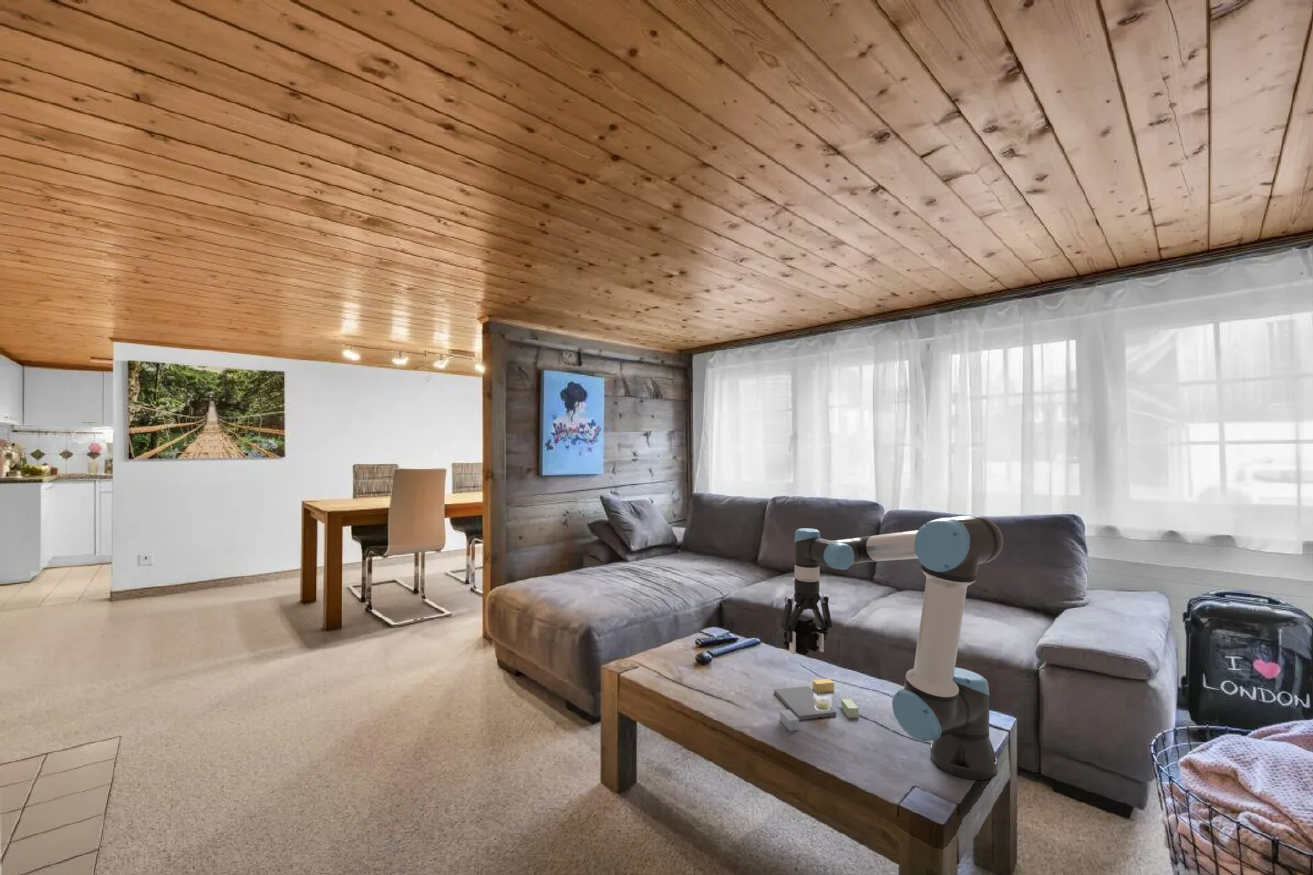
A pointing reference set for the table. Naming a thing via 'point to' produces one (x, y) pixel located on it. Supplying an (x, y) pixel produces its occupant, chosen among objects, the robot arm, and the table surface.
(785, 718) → the dusty blue brick
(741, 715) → the table surface
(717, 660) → the table surface
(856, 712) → the sage brick
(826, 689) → the mustard brick
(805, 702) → the felt pad
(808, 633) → the toy
